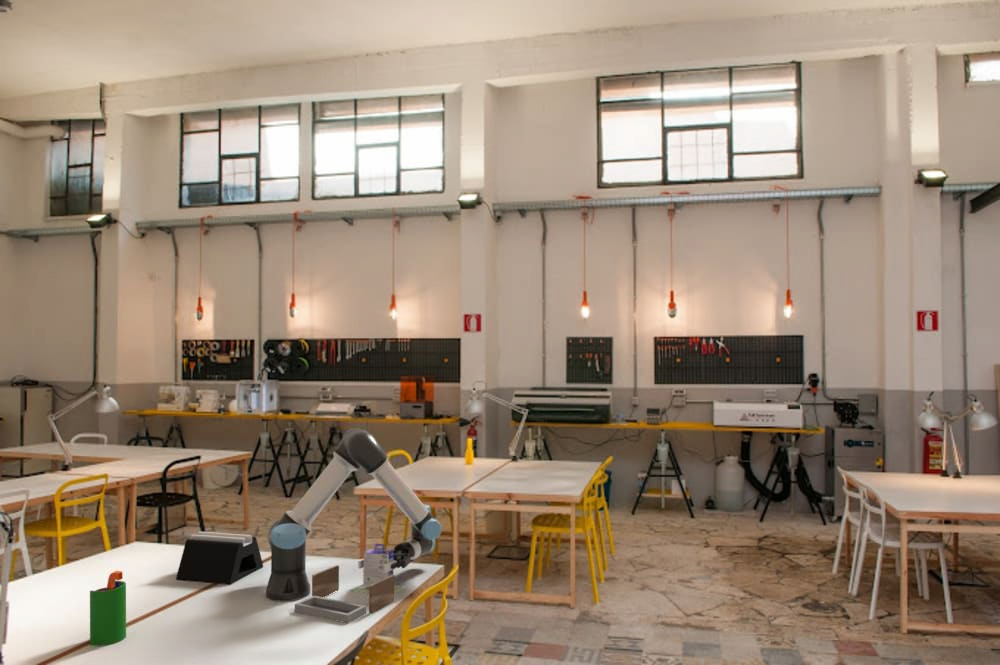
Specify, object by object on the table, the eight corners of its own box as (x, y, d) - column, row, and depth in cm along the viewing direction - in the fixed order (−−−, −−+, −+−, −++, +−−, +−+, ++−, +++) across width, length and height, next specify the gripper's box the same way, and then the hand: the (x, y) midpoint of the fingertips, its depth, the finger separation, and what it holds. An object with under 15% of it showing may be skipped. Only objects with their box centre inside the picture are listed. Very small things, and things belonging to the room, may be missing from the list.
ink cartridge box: (394, 583, 269) (394, 543, 270) (389, 588, 264) (389, 547, 264) (368, 582, 271) (368, 542, 272) (362, 586, 266) (363, 546, 266)
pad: (350, 590, 266) (350, 589, 266) (370, 581, 277) (370, 580, 277) (387, 597, 259) (387, 596, 259) (406, 587, 269) (406, 587, 269)
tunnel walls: (311, 601, 255) (312, 575, 255) (336, 590, 266) (336, 565, 266) (371, 613, 243) (371, 586, 244) (394, 601, 255) (394, 575, 255)
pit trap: (294, 611, 245) (294, 604, 245) (313, 602, 253) (313, 595, 253) (348, 623, 235) (348, 615, 235) (366, 613, 243) (366, 606, 243)
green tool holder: (101, 632, 226) (102, 566, 227) (131, 632, 227) (132, 566, 227) (85, 646, 216) (86, 577, 217) (117, 645, 217) (118, 576, 217)
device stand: (212, 563, 299) (212, 526, 299) (263, 567, 294) (263, 529, 294) (176, 580, 277) (176, 540, 277) (230, 585, 272) (230, 544, 272)
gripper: (432, 565, 279) (398, 582, 259) (382, 557, 289) (345, 572, 269) (432, 545, 279) (398, 560, 259) (382, 538, 289) (346, 552, 269)
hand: (371, 566), depth 264 cm, fingers closed on ink cartridge box, 10 cm apart
